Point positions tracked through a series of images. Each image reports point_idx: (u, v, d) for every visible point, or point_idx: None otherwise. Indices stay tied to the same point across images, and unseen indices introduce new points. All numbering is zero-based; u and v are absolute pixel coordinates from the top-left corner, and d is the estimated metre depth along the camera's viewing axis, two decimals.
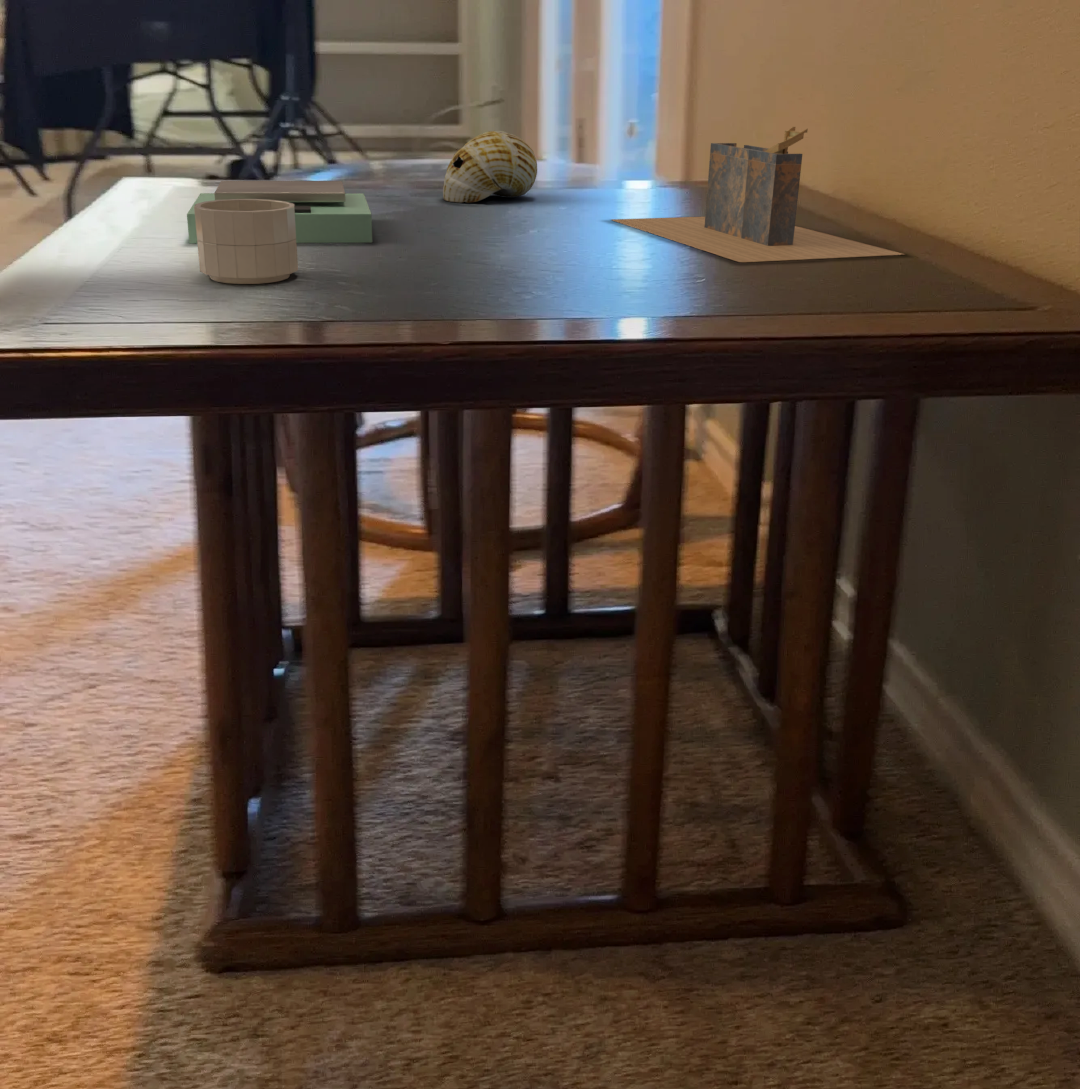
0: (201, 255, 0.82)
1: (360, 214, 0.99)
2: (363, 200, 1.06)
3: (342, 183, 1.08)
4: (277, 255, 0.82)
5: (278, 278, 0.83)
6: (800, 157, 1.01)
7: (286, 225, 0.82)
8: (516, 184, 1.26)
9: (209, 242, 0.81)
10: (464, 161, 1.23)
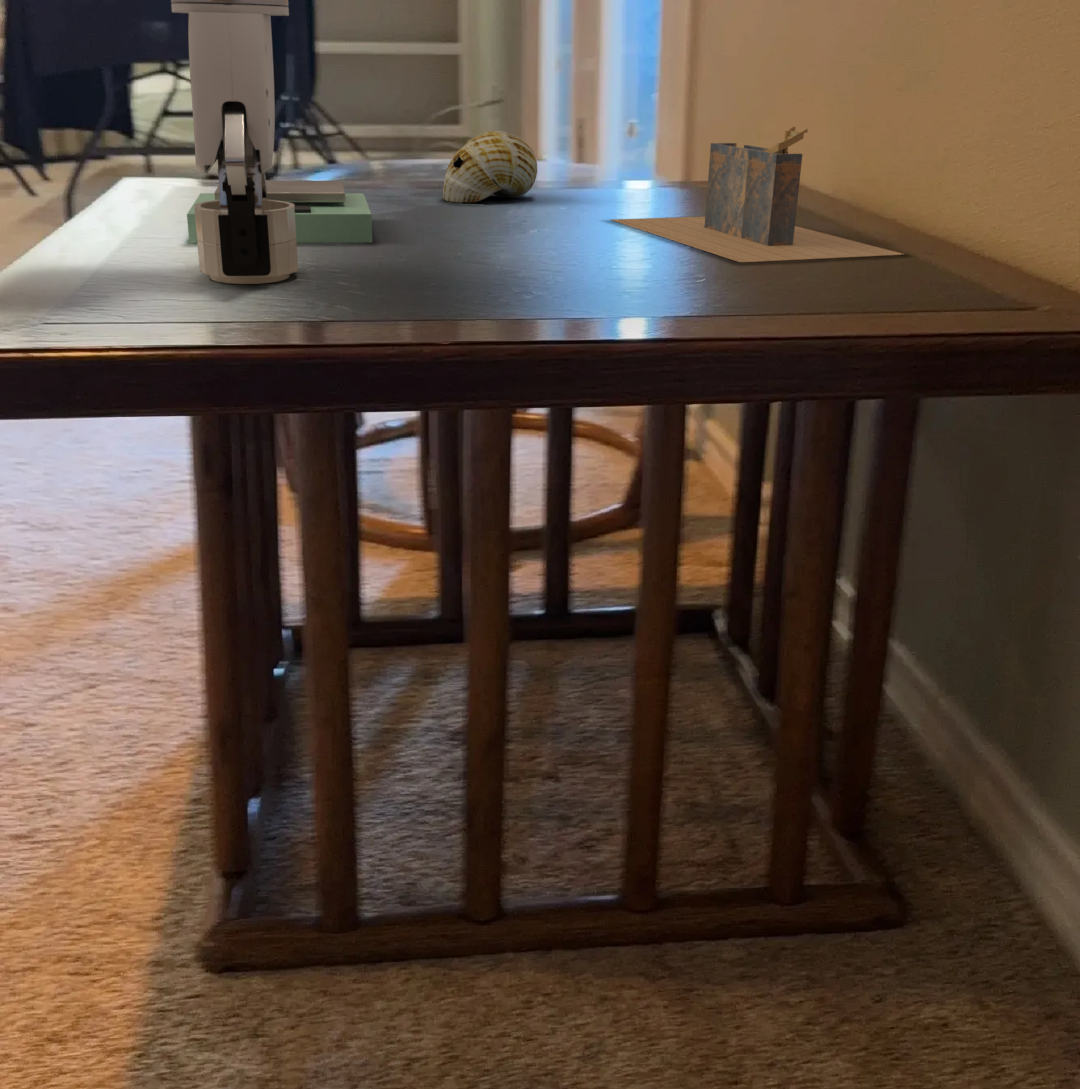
0: (201, 255, 0.82)
1: (360, 214, 0.99)
2: (363, 200, 1.06)
3: (342, 183, 1.08)
4: (277, 255, 0.82)
5: (278, 278, 0.83)
6: (800, 157, 1.01)
7: (286, 225, 0.82)
8: (516, 184, 1.26)
9: (209, 242, 0.81)
10: (464, 161, 1.23)
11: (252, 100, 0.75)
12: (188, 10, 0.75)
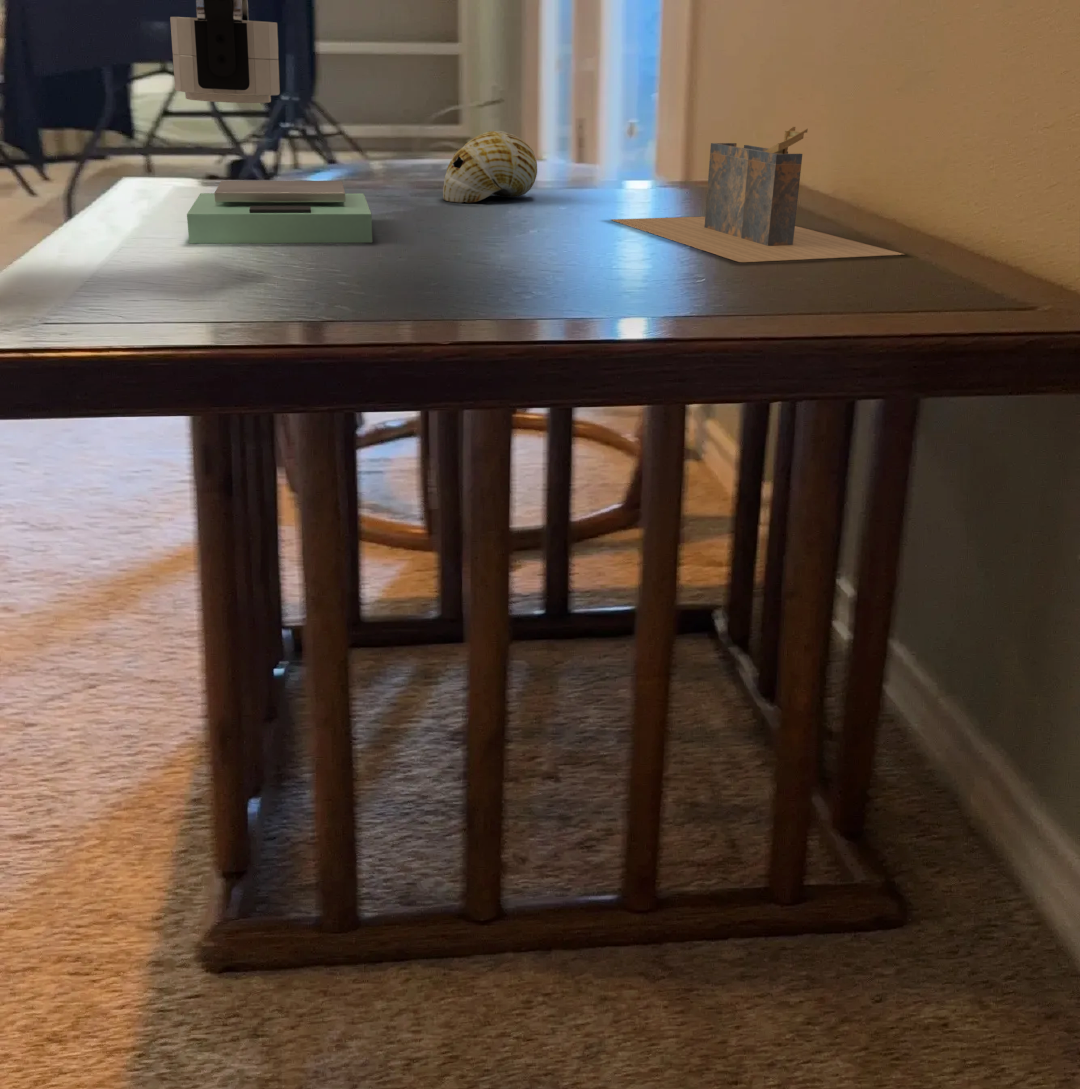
0: (176, 70, 0.77)
1: (360, 214, 0.99)
2: (363, 200, 1.06)
3: (342, 183, 1.08)
4: (257, 72, 0.77)
5: (258, 99, 0.78)
6: (800, 157, 1.01)
7: (267, 40, 0.77)
8: (516, 184, 1.26)
9: (185, 54, 0.76)
10: (464, 161, 1.23)
11: None
12: None
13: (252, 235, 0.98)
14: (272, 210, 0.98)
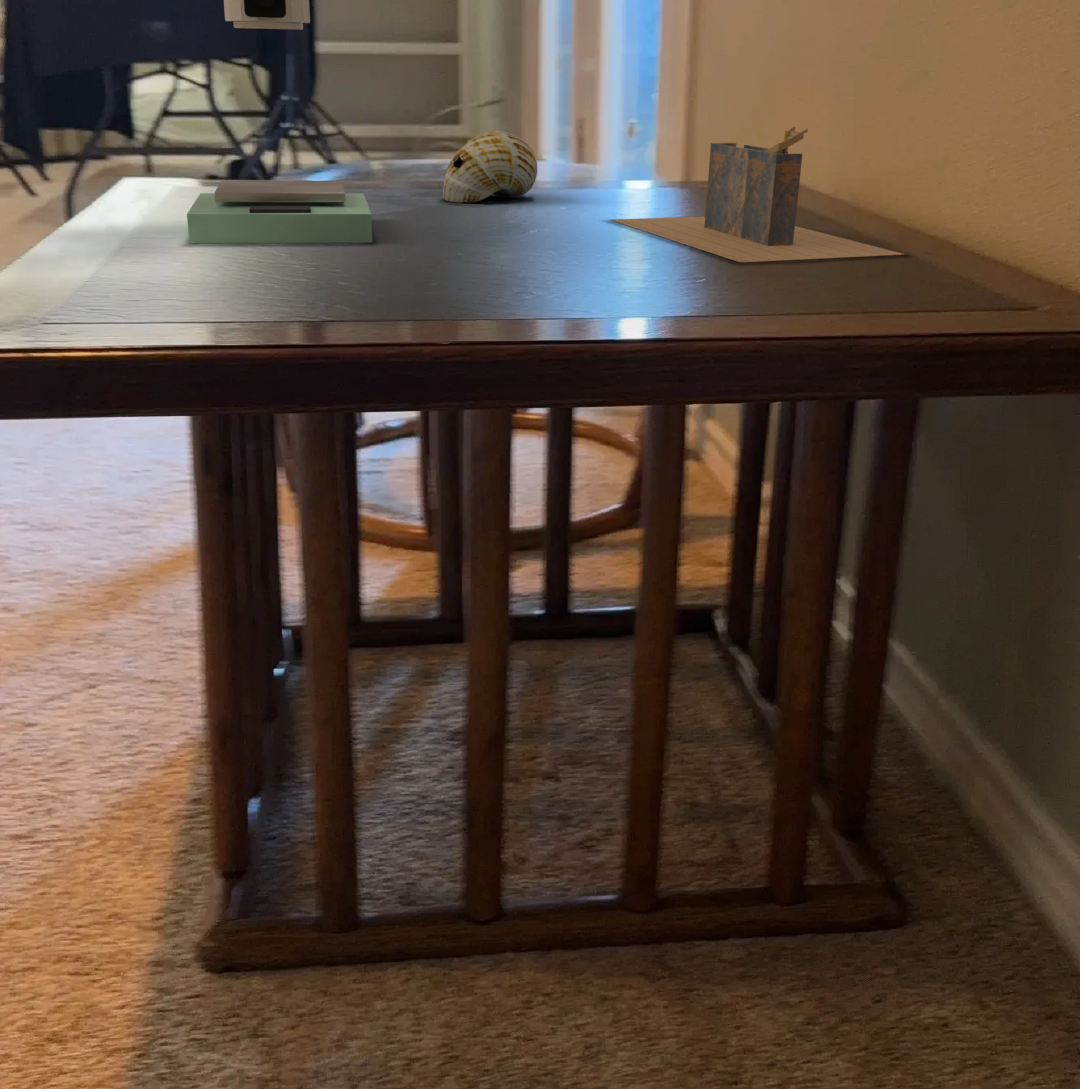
0: (226, 3, 0.95)
1: (360, 214, 0.99)
2: (363, 200, 1.06)
3: (342, 183, 1.08)
4: (292, 2, 0.94)
5: (293, 26, 0.96)
6: (800, 157, 1.01)
7: None
8: (516, 184, 1.26)
9: None
10: (464, 161, 1.23)
11: None
12: None
13: (252, 235, 0.98)
14: (272, 210, 0.98)
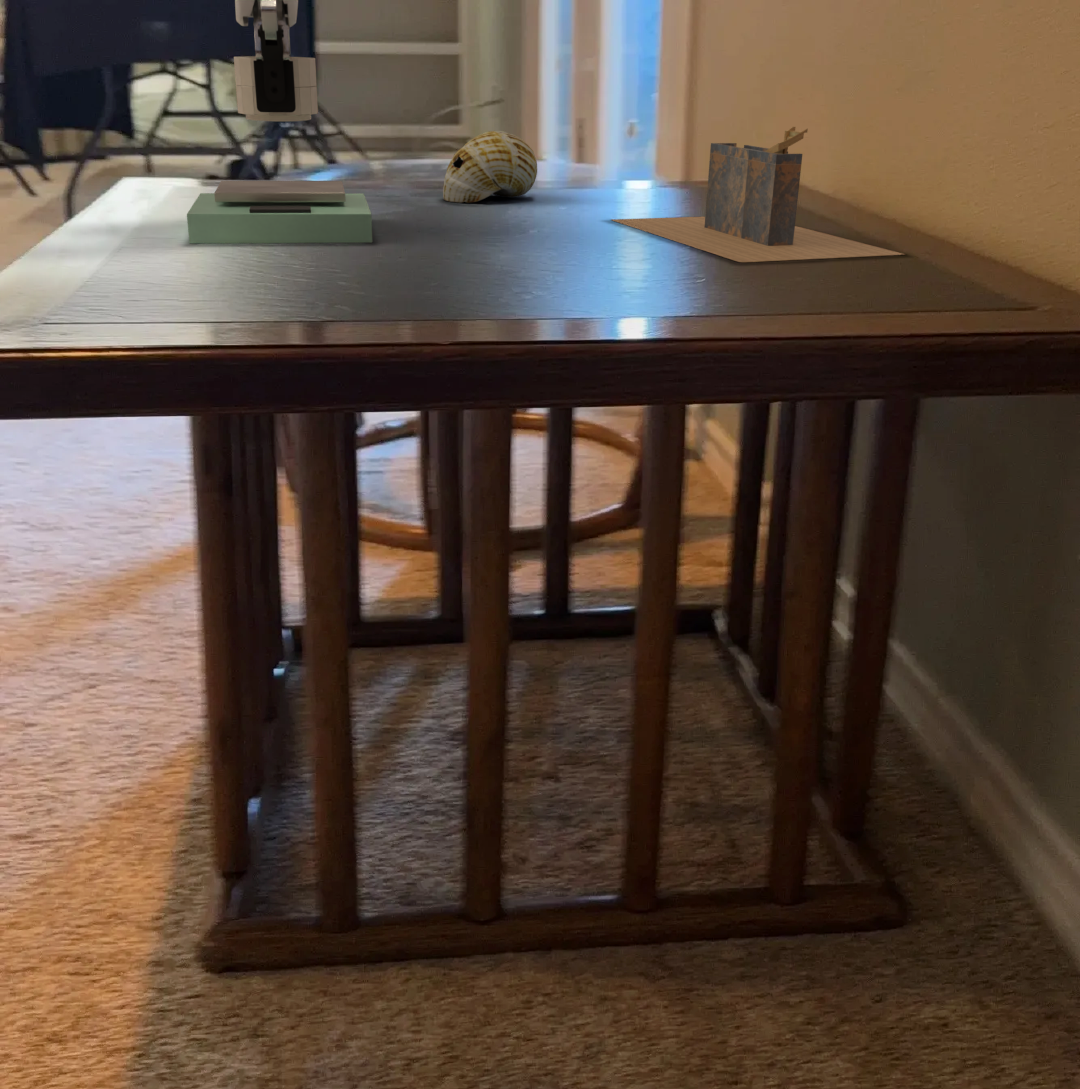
0: (239, 98, 1.00)
1: (360, 214, 0.99)
2: (363, 200, 1.06)
3: (342, 183, 1.08)
4: (301, 97, 1.00)
5: (302, 118, 1.01)
6: (800, 157, 1.01)
7: (309, 72, 1.00)
8: (516, 184, 1.26)
9: (246, 85, 0.99)
10: (464, 161, 1.23)
11: None
12: None
13: (252, 235, 0.98)
14: (272, 210, 0.98)
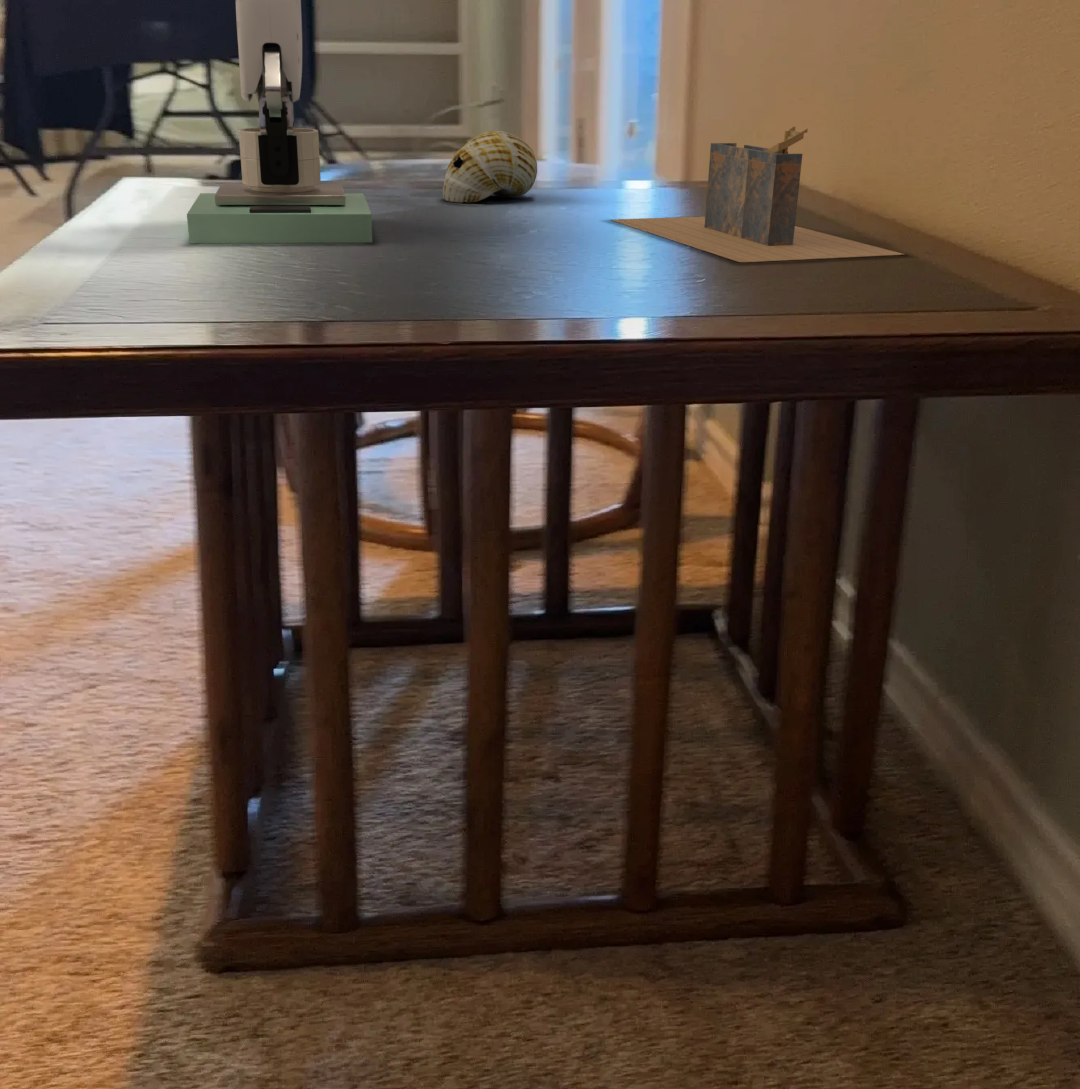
0: (244, 170, 1.02)
1: (360, 214, 0.99)
2: (363, 200, 1.06)
3: (342, 186, 1.08)
4: (305, 169, 1.02)
5: (305, 189, 1.03)
6: (800, 157, 1.01)
7: (312, 145, 1.02)
8: (516, 184, 1.26)
9: (251, 158, 1.01)
10: (464, 161, 1.23)
11: (286, 41, 0.96)
12: None
13: (252, 235, 0.98)
14: (272, 210, 0.98)
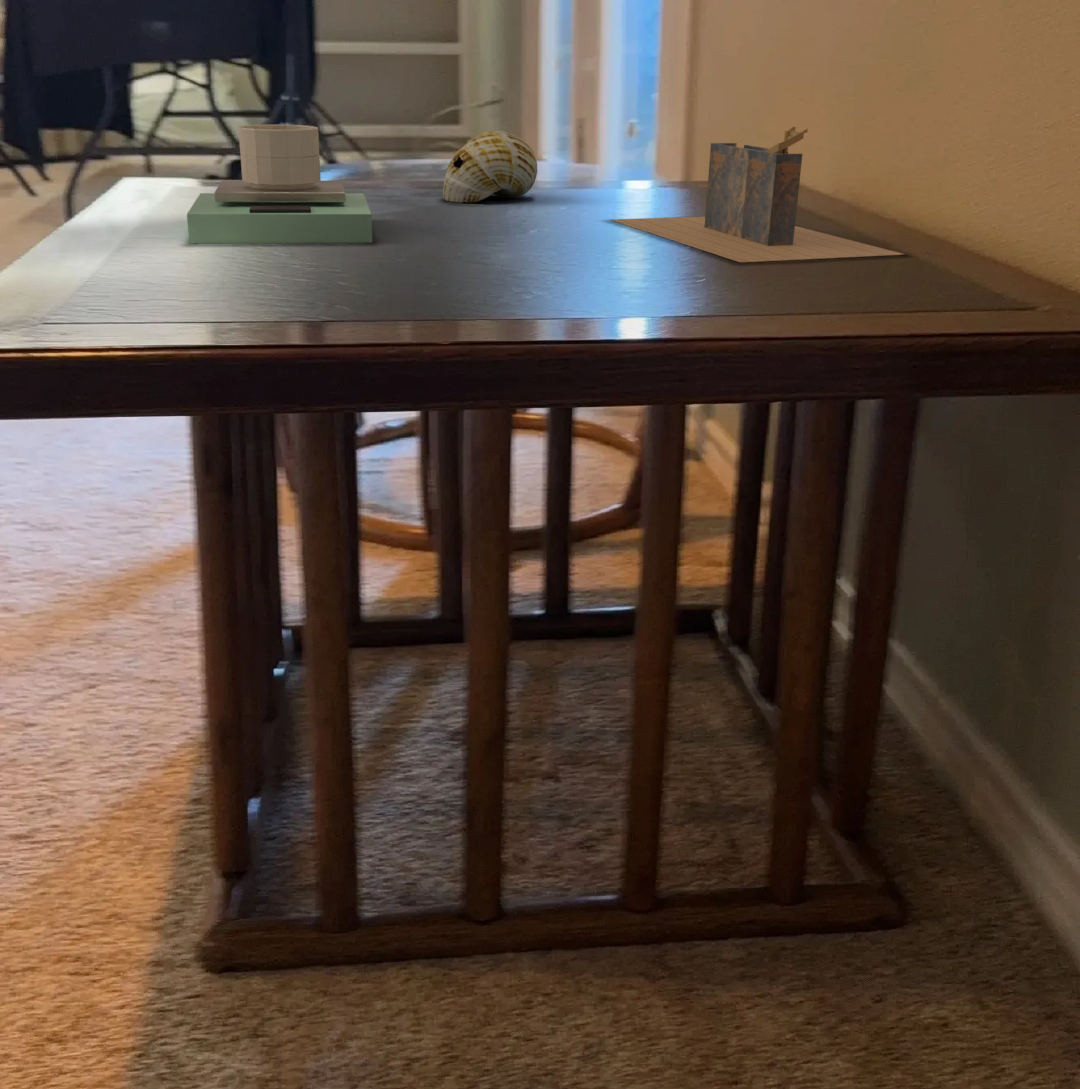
0: (243, 167, 1.02)
1: (360, 214, 0.99)
2: (363, 200, 1.06)
3: (342, 183, 1.08)
4: (304, 166, 1.02)
5: (305, 186, 1.03)
6: (800, 157, 1.01)
7: (312, 142, 1.02)
8: (516, 184, 1.26)
9: (250, 155, 1.01)
10: (464, 161, 1.23)
11: None
12: None
13: (252, 235, 0.98)
14: (272, 210, 0.98)
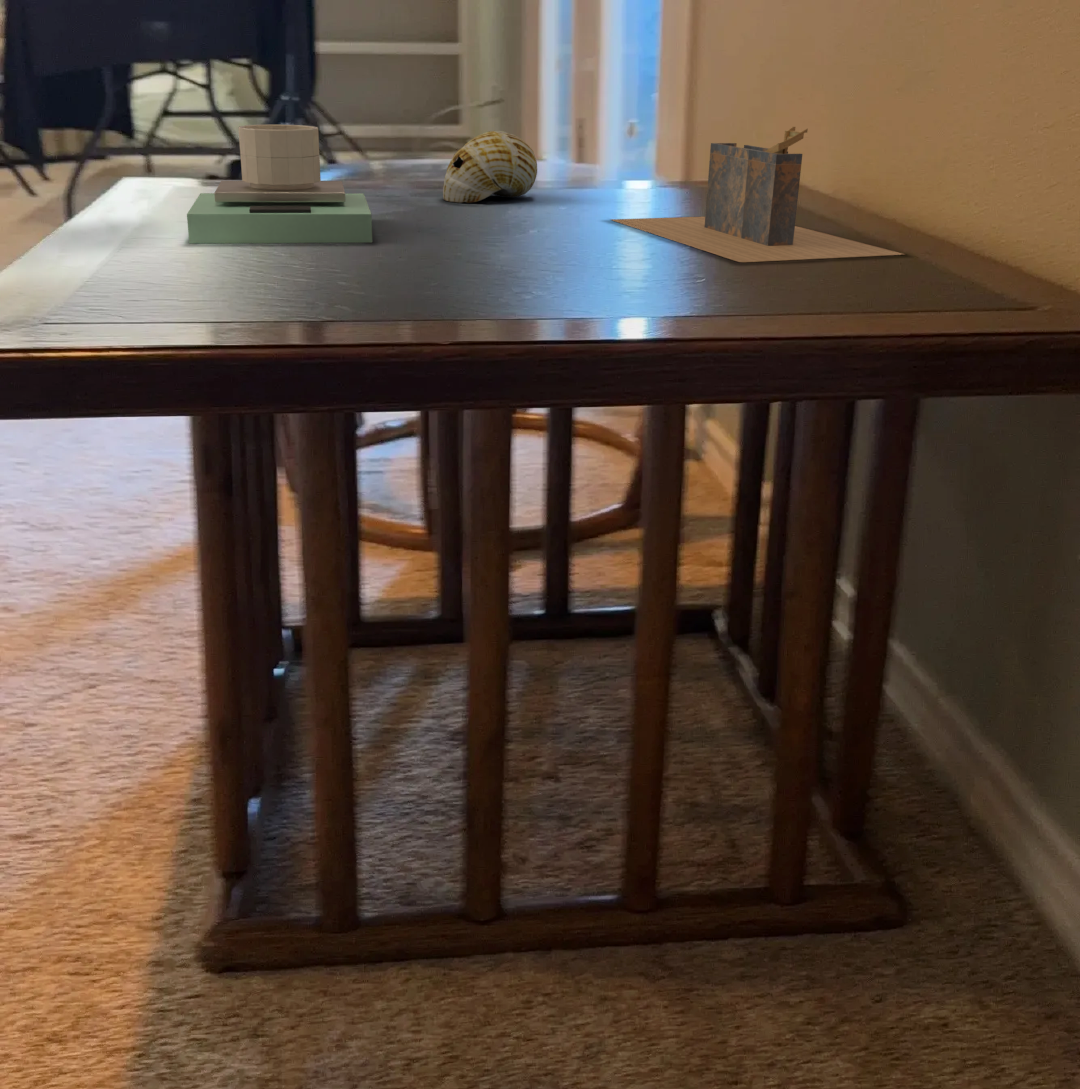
0: (243, 167, 1.02)
1: (360, 214, 0.99)
2: (363, 200, 1.06)
3: (342, 183, 1.08)
4: (304, 166, 1.02)
5: (305, 186, 1.03)
6: (800, 157, 1.01)
7: (312, 142, 1.02)
8: (516, 184, 1.26)
9: (250, 155, 1.01)
10: (464, 161, 1.23)
11: None
12: None
13: (252, 235, 0.98)
14: (272, 210, 0.98)
